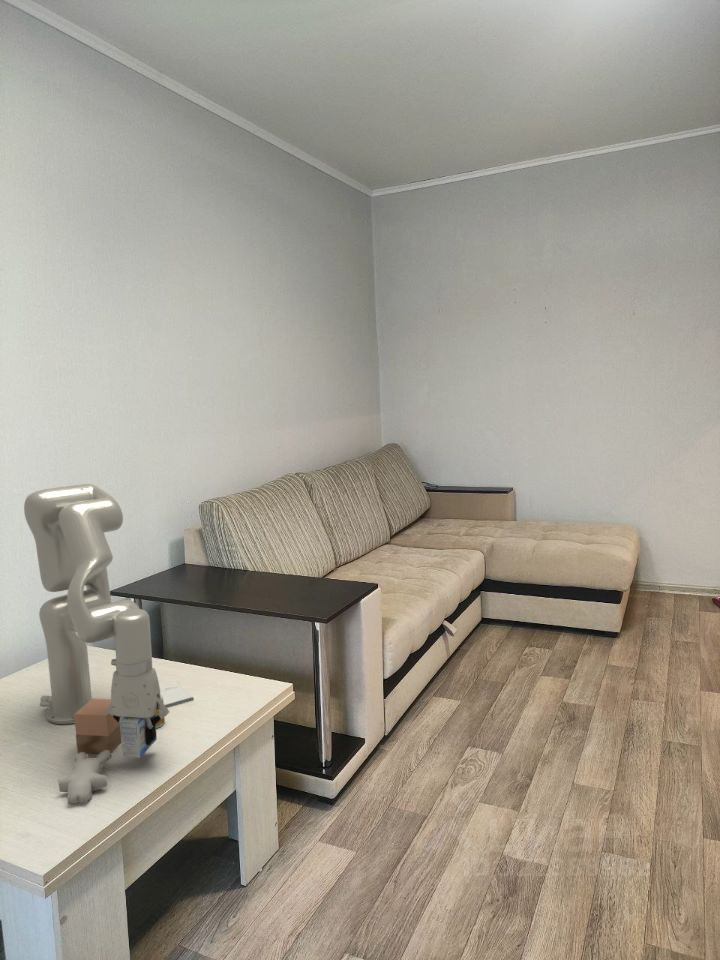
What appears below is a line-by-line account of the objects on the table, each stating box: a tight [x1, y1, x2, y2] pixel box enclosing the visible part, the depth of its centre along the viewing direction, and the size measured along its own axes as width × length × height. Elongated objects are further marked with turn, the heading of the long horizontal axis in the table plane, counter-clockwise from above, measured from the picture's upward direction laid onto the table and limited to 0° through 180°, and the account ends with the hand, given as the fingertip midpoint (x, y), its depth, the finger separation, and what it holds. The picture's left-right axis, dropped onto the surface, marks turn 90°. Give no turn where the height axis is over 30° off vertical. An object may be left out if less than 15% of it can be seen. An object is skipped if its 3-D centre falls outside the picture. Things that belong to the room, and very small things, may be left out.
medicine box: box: [120, 717, 158, 759], centre depth 156 cm, size 8×4×9 cm, turn 169°
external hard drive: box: [159, 681, 195, 709], centre depth 190 cm, size 2×8×12 cm
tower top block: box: [74, 698, 119, 736], centre depth 164 cm, size 8×8×5 cm
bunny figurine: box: [58, 750, 113, 804], centre depth 148 cm, size 10×5×15 cm
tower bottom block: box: [75, 726, 122, 756], centre depth 164 cm, size 8×8×5 cm
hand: (139, 740), depth 157 cm, fingers closed on medicine box, 4 cm apart
